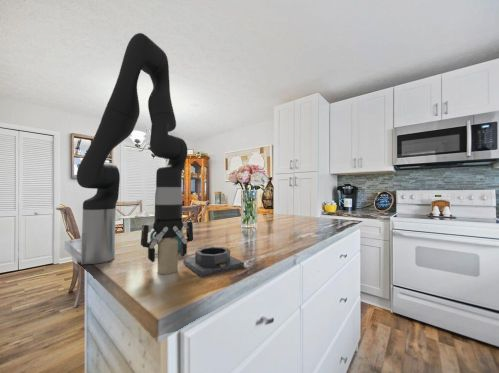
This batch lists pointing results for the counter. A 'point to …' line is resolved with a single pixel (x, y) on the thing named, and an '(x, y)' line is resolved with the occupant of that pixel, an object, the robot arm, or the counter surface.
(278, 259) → the counter surface
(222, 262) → the mount
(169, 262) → the candle
